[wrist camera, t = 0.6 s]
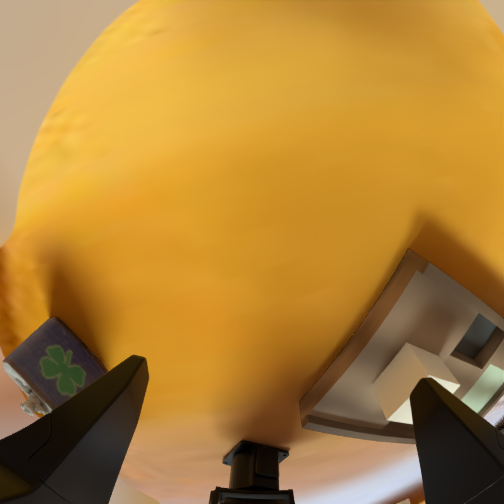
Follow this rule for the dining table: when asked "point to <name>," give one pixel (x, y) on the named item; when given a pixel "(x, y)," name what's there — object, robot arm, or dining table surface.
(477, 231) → the dining table surface
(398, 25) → the dining table surface
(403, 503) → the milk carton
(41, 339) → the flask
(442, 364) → the block
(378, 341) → the box
